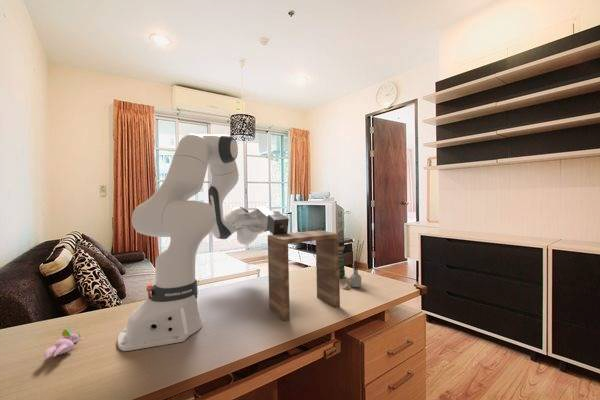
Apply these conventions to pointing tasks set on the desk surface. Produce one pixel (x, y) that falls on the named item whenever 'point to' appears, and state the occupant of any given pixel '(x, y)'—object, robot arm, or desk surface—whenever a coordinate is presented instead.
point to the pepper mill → (273, 221)
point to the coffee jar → (341, 258)
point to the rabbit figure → (63, 344)
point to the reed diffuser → (355, 272)
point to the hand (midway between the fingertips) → (263, 210)
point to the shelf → (324, 268)
